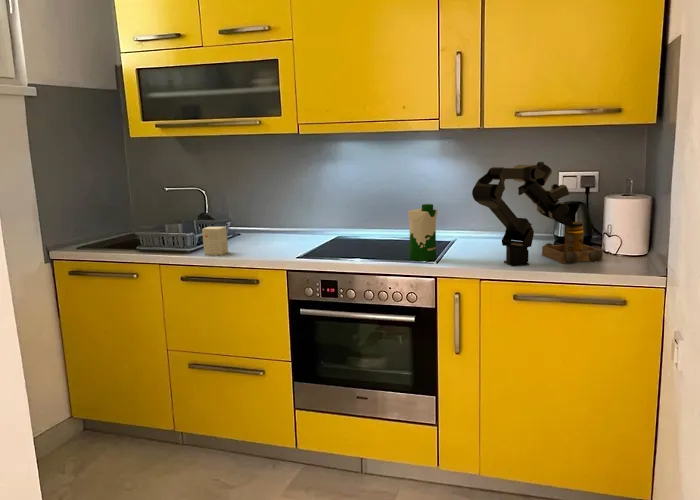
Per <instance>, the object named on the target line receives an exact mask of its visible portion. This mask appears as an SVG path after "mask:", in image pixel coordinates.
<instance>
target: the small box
mask: <svg viewBox="0 0 700 500" xmlns="http://www.w3.org/2000/svg"><path fill="white" fill-rule="evenodd" d="M201 233H202V242H203V254H204V255H207V256H209V255H210V256H211V255H212V256H214V255H215V256H223V255H225V254H227V253H229V246H228V245H229V243H228V231H227V226H207V227H204V228H202V229H201Z"/></svg>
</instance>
